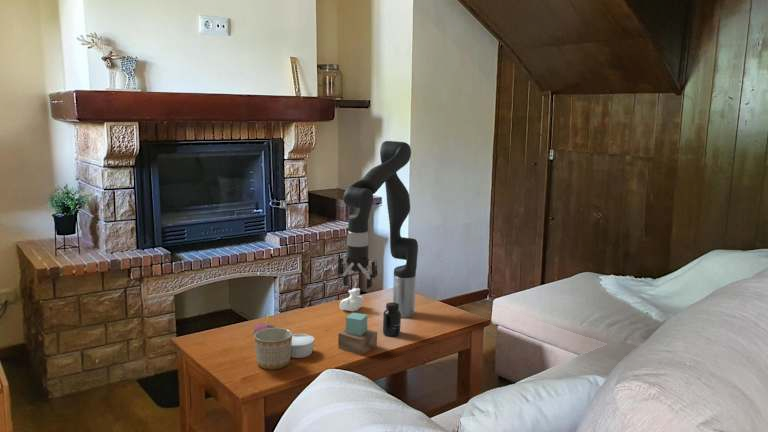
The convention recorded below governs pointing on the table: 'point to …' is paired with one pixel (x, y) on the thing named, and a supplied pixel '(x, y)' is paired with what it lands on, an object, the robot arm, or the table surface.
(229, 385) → the table surface
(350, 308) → the duck figurine
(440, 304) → the table surface
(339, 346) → the walnut block
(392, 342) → the table surface
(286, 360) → the planter
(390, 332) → the supplement bottle
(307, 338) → the ramekin
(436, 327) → the table surface
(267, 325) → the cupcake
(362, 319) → the teal cube
